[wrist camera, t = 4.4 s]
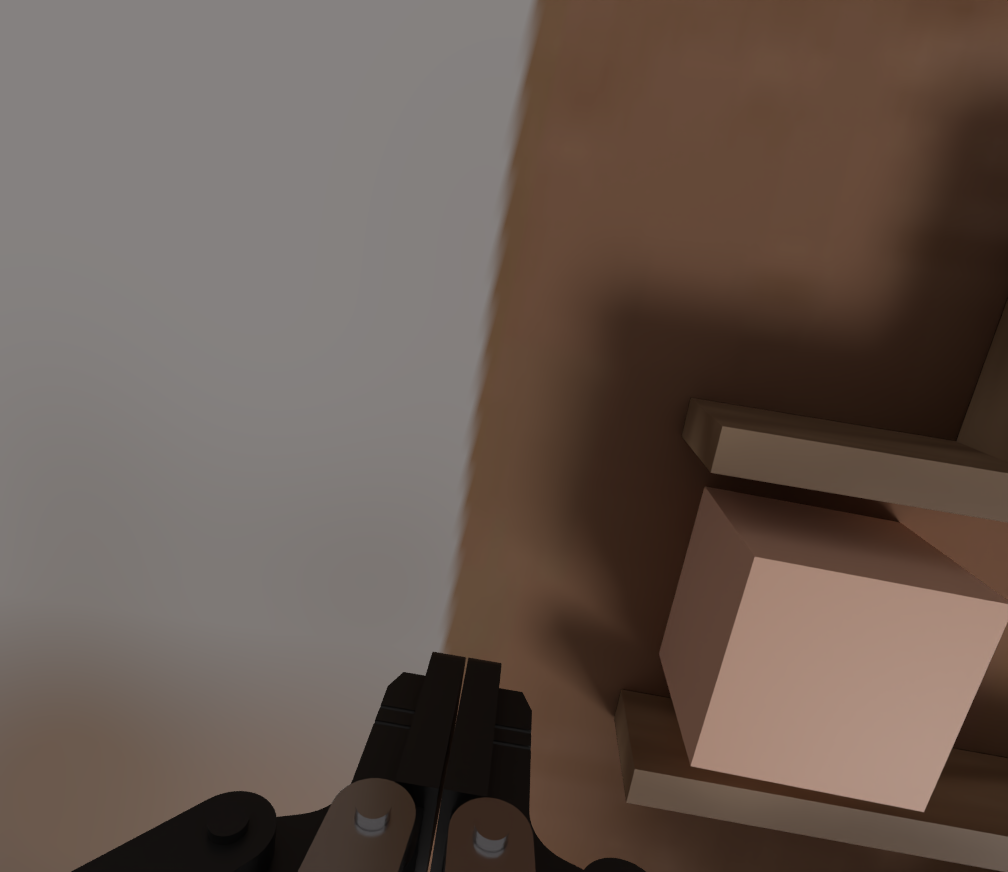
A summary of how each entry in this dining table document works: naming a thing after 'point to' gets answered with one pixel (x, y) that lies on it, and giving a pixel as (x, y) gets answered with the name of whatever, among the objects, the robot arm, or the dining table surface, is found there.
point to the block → (824, 649)
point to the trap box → (870, 475)
